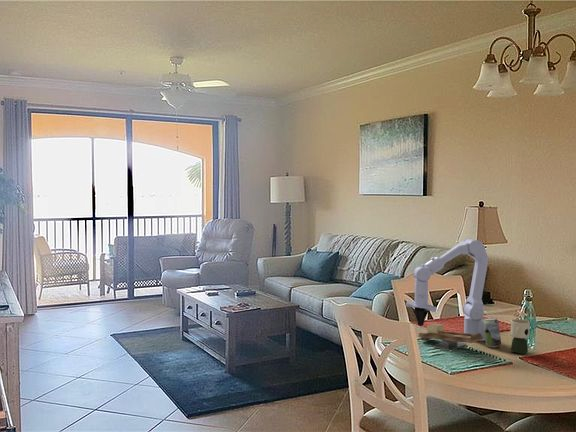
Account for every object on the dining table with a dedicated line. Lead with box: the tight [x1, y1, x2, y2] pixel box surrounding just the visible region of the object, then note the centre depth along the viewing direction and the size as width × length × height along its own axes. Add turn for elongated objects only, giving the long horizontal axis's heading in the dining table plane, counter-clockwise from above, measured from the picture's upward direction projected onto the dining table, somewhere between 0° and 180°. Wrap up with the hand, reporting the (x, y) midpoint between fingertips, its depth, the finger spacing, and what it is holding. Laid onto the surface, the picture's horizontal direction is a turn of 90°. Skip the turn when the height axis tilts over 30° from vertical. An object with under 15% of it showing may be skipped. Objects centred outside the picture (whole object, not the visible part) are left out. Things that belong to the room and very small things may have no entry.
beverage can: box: [483, 317, 502, 348], centre depth 235 cm, size 6×7×12 cm
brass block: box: [426, 323, 445, 335], centre depth 240 cm, size 5×5×4 cm
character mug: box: [510, 318, 531, 355], centre depth 226 cm, size 11×7×13 cm, turn 147°
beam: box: [418, 330, 483, 344], centre depth 235 cm, size 25×9×4 cm, turn 42°
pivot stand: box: [432, 340, 468, 352], centre depth 235 cm, size 8×13×3 cm, turn 132°
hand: (420, 325), depth 245 cm, fingers closed
